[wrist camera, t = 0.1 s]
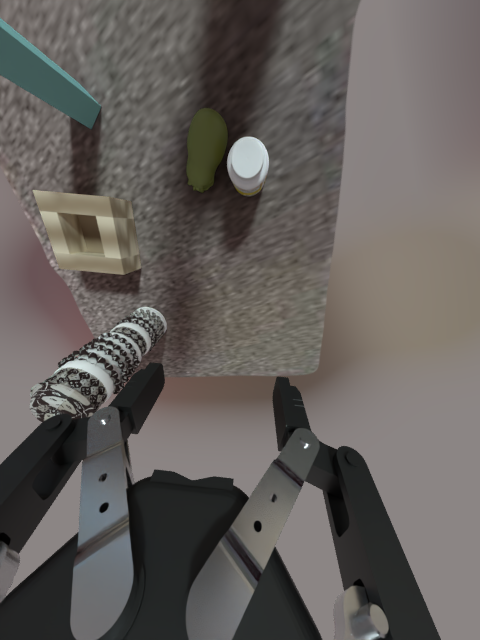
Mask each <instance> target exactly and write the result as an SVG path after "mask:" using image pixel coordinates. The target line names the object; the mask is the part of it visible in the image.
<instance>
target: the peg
mask: <svg viewBox="0 0 480 640" xmlns="http://www.w3.org/2000/svg"><path fill="white" fill-rule="evenodd" d="M0 75H2V76H3V77H5V78H7V79H8V80H10V81H12V82H13V83H15V84H17V85H18V86H20V87H22V88H23V89H25V90H26V91H28V92H30V93H31V94H33V95H35V96H36V97H38V98H40V99H41V100H43V101H45V102H46V103H48V104H50V105H51V106H53V107H55V108H56V109H58V110H60V111H61V112H63V113H65V114H66V115H68V116H70V117H71V118H73V119H75V120H76V121H78V122H80V123H81V124H83V125H85V126H86V127H88V128H90V129H92V127H93V125H94V123H95V120H96V118H97V116H98V113H99V111H100V109H101V106H100V105H99V104H98V103H97V102H96V100H95V99H94V98H93V97H92V96H91V95H90V94H89V93H88V92H87V91H86V90H85V89H84V88H83V87H82V86H81V85H80V84H79V83H78V82H77V81H76V80H75V79H73V78H72V77H71V76H70V75H69V74H67V73H66V72H65V71H64V70H62V69H61V68H60V67H59V66H58V65H56V64H55V63H54V62H53V61H52V60H50V59H49V58H48V57H47V56H45V55H44V54H43V53H42V52H41V51H39V50H38V49H37V48H36V47H35V46H33V45H32V44H31V43H30V42H29V41H27V40H26V39H25V38H24V37H22V36H21V35H20V34H19V33H18V32H16V31H15V30H14V29H13V28H12V27H10V26H9V25H8V24H7V23H6V22H4V21H3V20H2V19H1V18H0Z"/></svg>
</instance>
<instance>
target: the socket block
mask: <svg viewBox="0 0 480 640" xmlns="http://www.w3.org/2000/svg"><path fill="white" fill-rule="evenodd" d="M33 193H34V195H35V198H36V201H37V204H38V207H39V210H40V213H41V216H42V219H43V222H44V224H45V227H46V230H47V233H48V236H49V239H50V242H51V245H52V248H53V251H54V254H55V256H56V259H57V262H58V265H59V268H60V269H69V270H80V271H90V272H100V273H111V274H121V275H125V274H128V273H130V272H133V271H135V270H138V269H141V262H140V255H139V249H138V242H137V236H136V229H135V222H134V216H133V209H132V203H131V201H127V200H122V199H117V198H112V197H104V196H93V195H82V194H71V193H60V192H48V191H37V190H33Z"/></svg>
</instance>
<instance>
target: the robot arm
mask: <svg viewBox="0 0 480 640" xmlns="http://www.w3.org/2000/svg"><path fill="white" fill-rule="evenodd" d="M164 383H165V379H164V370H163V365H162V364H161V363H149V365H148V366H147V367H146V369H145V370H144V369H141V370H139V371H138V372H137V373H135V374H134V375H133V376H132V377H131V379H130V380H129V382H127V384H126V385H125V387H123V389H122V390H121V391H120V392H119V394H118V395H117V396H116V398H115V399H114V400H113V401H112V402H111V404H110V405H109V406H108V407H105V408H102V409H100V410H98V411H96V412H95V413H94V414H93V415H92V416H90V417H85V418H79V419H72V417H71V416H70V415H69V414H58V415H55V416H52V417H50V418H49V419H47V420H45V421H44V422H43V423H41V424H40V426H38V427H37V428H36V429H35V430H34V431H33V432H32V433H31V434H30V435H29V436H28V437H27V438H26V440H24V441H23V442H22V444H20V445H19V446H18V448H17V449H15V450H14V451H13V452H12V453H11V454H10V455H9V457H7V458H6V460H4V461H3V462H2V464H1V465H0V640H322V638H321V635H320V633H319V631H318V629H317V627H316V625H315V623H314V621H313V619H312V617H311V615H310V613H309V611H308V609H307V607H306V605H305V603H304V601H303V599H302V598H301V596H300V594H299V592H298V590H297V588H296V586H295V584H294V582H293V580H292V578H291V576H290V574H289V572H288V570H287V568H286V566H285V564H284V563H283V561H282V559H281V557H280V555H279V553H278V551H277V549H276V547H275V545H276V542H277V540H278V538H279V536H280V534H281V532H282V529H283V527H284V525H285V523H286V521H287V518H288V516H289V514H290V512H291V510H292V508H293V505H294V503H295V501H296V499H297V497H298V495H299V492H300V490H301V488H302V486H303V483H304V481H306V482H308V483H310V484H312V485H314V486H316V487H318V488H320V489H322V490H323V495H324V499H325V504H326V509H327V513H328V518H329V523H330V527H331V532H332V536H333V541H334V546H335V550H336V555H337V560H338V564H339V569H340V574H341V578H342V582H343V587H344V592H343V593H341V594H340V595H339V596H338V597H337V599H336V600H335V604H334V624H335V635H334V640H441V639H440V636H439V634H438V632H437V629H436V627H435V625H434V622H433V620H432V617H431V615H430V613H429V611H428V608H427V606H426V603H425V601H424V599H423V596H422V594H421V592H420V589H419V587H418V585H417V582H416V580H415V578H414V575H413V573H412V570H411V568H410V566H409V563H408V561H407V559H406V556H405V554H404V552H403V549H402V547H401V544H400V542H399V540H398V537H397V535H396V533H395V530H394V528H393V526H392V523H391V521H390V518H389V516H388V514H387V512H386V509H385V507H384V505H383V502H382V500H381V497H380V495H379V493H378V490H377V488H376V486H375V483H374V481H373V478H372V476H371V474H370V471H369V469H368V467H367V464H366V462H365V460H364V459H363V457H362V456H361V455H360V454H359V453H358V452H357V451H356V450H354V449H352V448H350V447H347V446H341V447H339V448H338V450H337V449H334V448H332V447H330V446H328V445H325V444H323V443H322V442H320V441H319V440H318V439H317V437H316V436H315V434H314V433H312V431H311V429H310V426H309V422H308V418H307V415H306V411H305V408H304V404H303V401H302V397H301V393H300V392H299V391H298V389H297V388H296V387H295V386H290V383H289V379H288V378H286V377H277V378H276V382H275V386H274V391H273V408H274V417H275V426H276V434H277V443H278V451H281V453H280V455H279V456H278V458H277V459H276V460H274V461H273V462H272V464H271V465H270V467H269V468H268V470H267V471H266V473H265V474H264V476H263V478H262V479H261V481H260V482H259V484H258V485H257V487H256V488H255V490H254V491H253V493H252V495H251V496H250V498H249V497H248V496H247V495H246V494H245V493H244V492H243V491H242V490H240V489H239V488H237V487H236V486H234V485H233V479H231V478H223V477H209V478H204V479H199V480H190V479H188V478H186V477H184V476H181V475H180V474H177V473H175V472H172V471H163V470H154V472H153V475H152V476H151V477H147V478H144V479H142V480H140V481H138V482H136V483H135V482H134V478H133V473H132V467H131V460H130V453H129V446H128V440H127V439H128V437H129V436H130V434H131V433H132V434H138V433H139V431H140V429H141V427H142V426H143V424H144V422H145V420H146V418H147V416H148V415H149V413H150V411H151V409H152V407H153V406H154V404H155V402H156V400H157V398H158V397H159V395H160V393H161V391H162V389H163V387H164ZM81 460H83V462H82V476H81V496H80V516H79V532H78V533H77V534H76V535H74V537H72V538H71V539H70V540H69V541H68V542H67V543H65V544H64V545H63V546H62V547H61V548H60V549H59V550H57V551H56V552H55V553H54V554H53V555H52V556H51V557H50V558H48V560H46V561H45V562H44V563H43V564H42V565H41V566H39V567H38V568H37V569H36V570H35V571H34V572H33V573H32V574H30V575H29V576H28V577H27V578H26V579H25V580H24V581H22V582H21V583H20V584H19V585H18V586H17V587H16V588H15V589H14V590H12V592H10V593H9V594H8V595H7V596H6V593H7V591H8V589H9V588H10V587H11V585H12V583H13V579H14V576H15V574H16V572H17V570H18V567H19V563H20V556H19V553H20V551H21V550H22V548H23V547H24V545H25V544H26V542H27V540H28V539H29V538H30V536H31V535H32V533H33V532H34V530H35V529H36V527H37V526H38V524H39V523H40V521H41V520H42V518H43V517H44V515H45V514H46V512H47V511H48V509H49V508H50V506H51V505H52V503H53V502H54V500H55V499H56V497H57V496H58V494H59V493H60V491H61V490H62V489H63V487H64V486H65V484H66V483H67V481H68V480H69V478H70V476H71V475H72V474H73V472H74V471H75V469H76V468H77V466H78V465H79V463H80V462H81ZM5 596H6V597H5Z"/></svg>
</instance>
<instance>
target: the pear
mask: <svg viewBox="0 0 480 640" xmlns="http://www.w3.org/2000/svg"><path fill="white" fill-rule="evenodd" d="M227 141H228V131H227V126H226V123H225V121H224V119H223V118H222V116H221V115H220V114H219V113H218V112H216V111H215V110H213V109H210V108H202V109H200V110H199V111H198V112H197V113H196V114H195V115H194V117H193V119H192V122H191V125H190V128H189V131H188V137H187V149H188V160H187V165H186V173H187V177H188V178H189V180H188V185H192V186H193V189H194V191H195V190H198V191H199V192H202V193H203V192H204V191H205V190H206V191H207V190H208V189H209V188H210V187H211V186H212V185H213V184H214V175H215V171H216V169H217V167H218V165H219V164H220V163H221V161H222V159H223V156H224V153H225V150H226V146H227Z"/></svg>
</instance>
